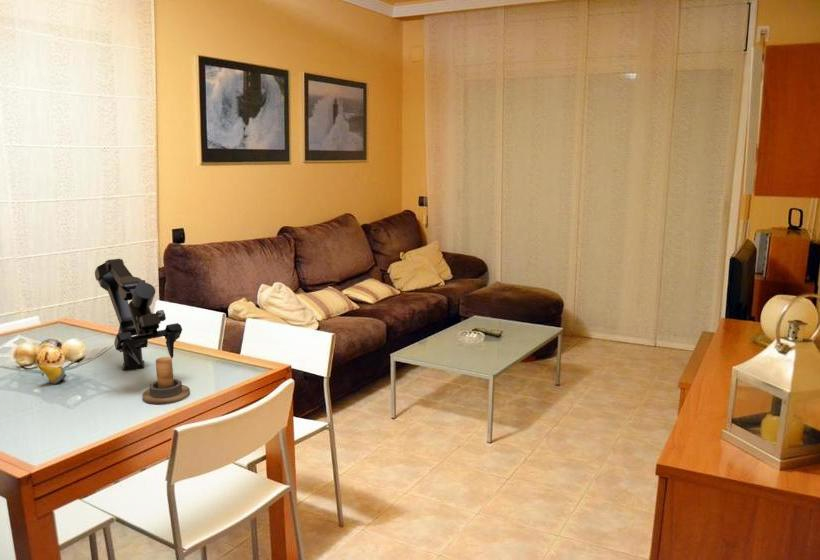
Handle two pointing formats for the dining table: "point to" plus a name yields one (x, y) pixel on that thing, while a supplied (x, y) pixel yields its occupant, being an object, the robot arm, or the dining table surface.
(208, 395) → the dining table surface
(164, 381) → the handle
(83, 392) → the dining table surface
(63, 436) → the dining table surface
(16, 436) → the dining table surface
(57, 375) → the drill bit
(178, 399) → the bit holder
